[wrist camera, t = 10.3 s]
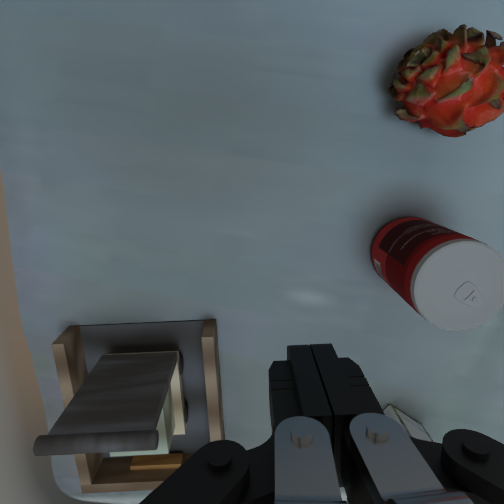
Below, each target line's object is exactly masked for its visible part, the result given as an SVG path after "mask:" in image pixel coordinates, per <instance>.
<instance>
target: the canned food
mask: <svg viewBox="0 0 504 504" xmlns="http://www.w3.org/2000/svg"><path fill="white" fill-rule="evenodd" d="M371 255H372V262H373V265H374V268H375V270H376V272H377V273H378V275H379V276H380V277H381V278H382V279H383V280H384V281H385V282H386V283H387V284H388V285H389V286H390V287H391V288H392V289H393V290H394V291H396V292H397V293H398V294H399V295H400V296H401V297H402V298H403V299H404V300H405V301H406V302H407V303H408V304H409V305H410V306H411V307H412V308H413V309H414V310H415V311H416V312H417V313H418V314H420V315H421V316H422V317H423V318H424V319H425V320H427V321H428V322H430V323H431V324H433V325H434V326H436V327H439V328H441V329H444V330H450V331H464V330H469V329H473V328H476V327H478V326H481V325H482V324H484V323H486V322H488V321H489V320H490V319H491V318H493V317H494V316H495V315H496V314H497V313H498V312H499V310H500V309H501V308H502V306H503V305H504V258H503V257H502V256H501V255H500V254H499V253H498V252H497V251H496V250H494V249H493V248H492V247H490V246H488V245H487V244H485V243H482V242H480V241H478V240H476V239H473V238H471V237H468V236H466V235H463V234H460V233H458V232H455V231H453V230H450V229H447V228H445V227H442V226H440V225H437V224H435V223H432V222H429V221H427V220H424V219H421V218H416V217H406V218H401V219H397V220H395V221H392V222H390V223H389V224H387V225H386V226H384V227H383V228H382V229H381V230H380V231H379V233H378V234H377V235H376V237H375V239H374V241H373V245H372V253H371Z"/></svg>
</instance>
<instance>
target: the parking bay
mask: <svg viewBox="0 0 504 504" xmlns="http://www.w3.org/2000/svg"><path fill="white" fill-rule="evenodd" d="M52 349H53V354H54V359H55V364H56V368H57V373H58V378H59V383H60V388H61V392H62V397H63V402H64V407H65V408H66V407H67V405H68V404H69V403H70V401H71V400H72V398H73V397H74V395H75V394H76V392H77V391H78V389H79V388H80V386H81V385H82V384H83V382H84V381H85V379H86V378H87V376H88V375H89V373H90V372H91V370H92V369H93V367H94V366H95V365H96V363H97V362H98V360H99V359H100V357H101V356H102V355H106V354H123V353H144V352H165V351H179V356H183V361H184V369H183V374H182V375H181V377H182V387H183V396H184V404H188V412H189V413H188V422H187V423H186V425H187V428H186V432H185V434H179V435H173V438H172V442H171V446H170V450H169V454H154V455H134V456H114V457H110V453H109V452H108V453H88V454H74V455H75V460H76V465H77V470H78V474H79V479H80V484H81V489H82V493H99V492H119V491H139V490H155V489H156V488H157V487H158V486H159V485H160V484H161V483H162V482H163V481H165V480H166V479H167V478H168V477H169V476H170V475H171V474H172V473H173V472H174V471H176V470H177V469H178V468H179V467H180V466H181V465H182V464H183V463H184V462H185V461H187V460H188V459H189V458H190V457H191V456H192V455H193V454H194V453H195V452H196V451H198V450H199V449H200V448H201V447H202V446H204V445H206V444H208V443H210V442H213V441H217V440H225V435H224V421H223V408H222V394H221V380H220V366H219V352H218V339H217V325H216V319H214V320H192V321H171V322H149V323H127V324H105V325H84V326H69V327H68V328H67V329H66V330H65V331H64V332H63V333H62V334H61V335H60V336H59V337H58V338H57V339H56V340H55V341H54V342H53V343H52Z"/></svg>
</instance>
